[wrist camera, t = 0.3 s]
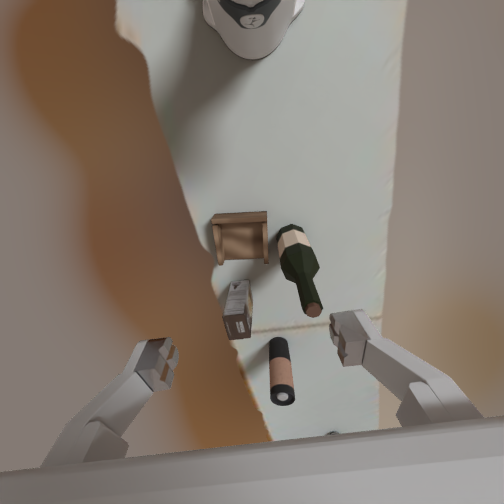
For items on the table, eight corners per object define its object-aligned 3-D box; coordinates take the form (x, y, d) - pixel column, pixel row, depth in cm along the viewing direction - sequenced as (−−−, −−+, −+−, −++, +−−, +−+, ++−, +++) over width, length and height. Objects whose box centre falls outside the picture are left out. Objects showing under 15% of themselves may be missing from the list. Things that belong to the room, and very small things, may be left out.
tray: (215, 213, 57) (211, 219, 52) (266, 211, 56) (266, 216, 51) (222, 258, 63) (218, 267, 59) (268, 257, 62) (268, 265, 58)
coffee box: (253, 300, 71) (251, 339, 56) (235, 302, 71) (229, 341, 57) (249, 278, 66) (245, 314, 52) (230, 281, 67) (221, 317, 53)
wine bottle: (311, 237, 59) (351, 312, 32) (290, 255, 62) (310, 337, 35) (291, 217, 56) (317, 281, 30) (270, 237, 59) (276, 311, 33)
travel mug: (291, 345, 80) (299, 402, 62) (275, 352, 82) (278, 408, 65) (282, 333, 77) (287, 389, 60) (265, 340, 80) (265, 396, 62)
